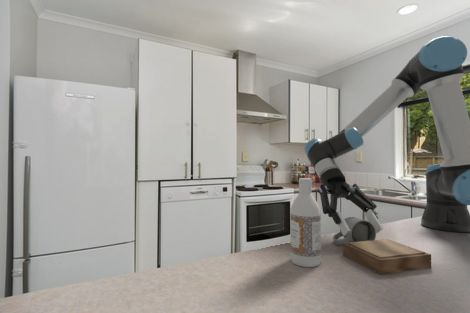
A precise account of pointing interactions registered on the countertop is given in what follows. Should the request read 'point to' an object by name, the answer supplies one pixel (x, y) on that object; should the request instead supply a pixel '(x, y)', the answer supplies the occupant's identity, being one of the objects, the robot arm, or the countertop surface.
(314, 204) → the bath foam
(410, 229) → the countertop surface
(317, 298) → the countertop surface
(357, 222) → the ceramic mug
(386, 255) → the walnut base
